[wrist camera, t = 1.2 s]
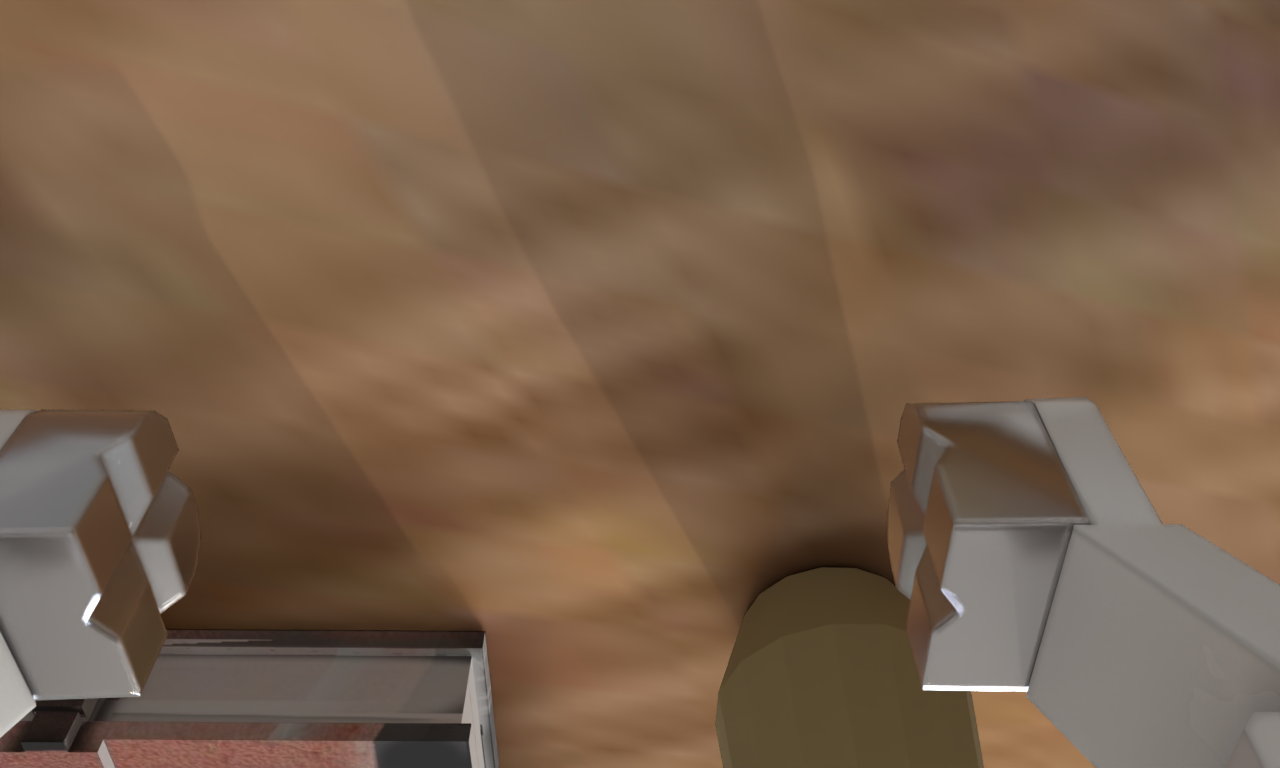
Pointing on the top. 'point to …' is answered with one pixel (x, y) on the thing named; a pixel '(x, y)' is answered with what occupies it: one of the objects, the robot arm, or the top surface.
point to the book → (280, 706)
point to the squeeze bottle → (836, 683)
